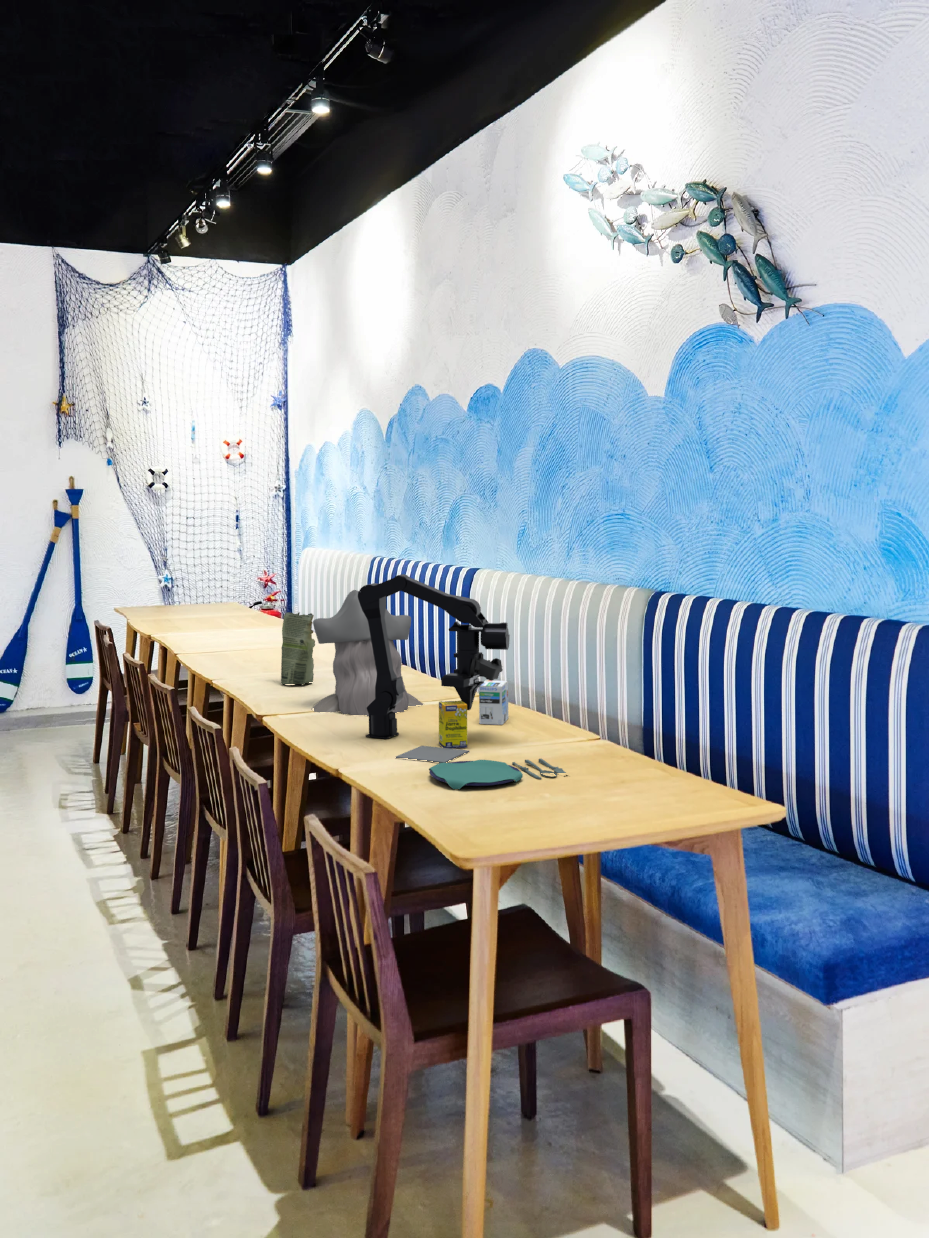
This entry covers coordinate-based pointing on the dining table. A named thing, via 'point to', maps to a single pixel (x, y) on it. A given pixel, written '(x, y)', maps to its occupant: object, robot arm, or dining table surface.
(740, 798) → the dining table surface
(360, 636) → the gray wizard statue
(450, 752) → the mat
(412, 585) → the robot arm
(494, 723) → the light bulb box
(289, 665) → the pouch
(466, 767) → the cutlery set
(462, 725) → the supplement box
